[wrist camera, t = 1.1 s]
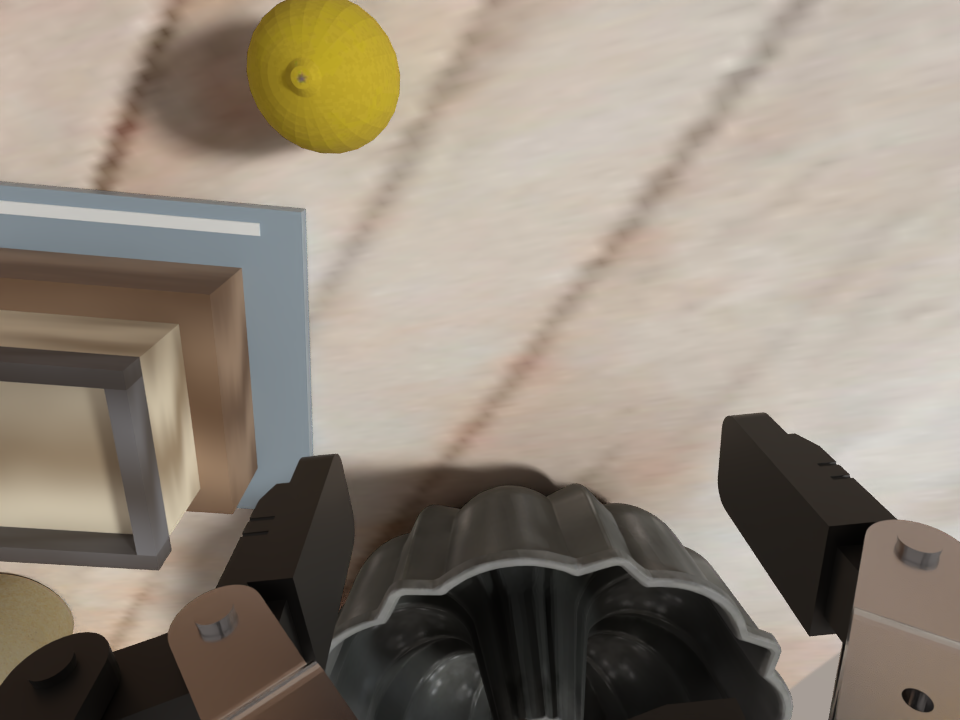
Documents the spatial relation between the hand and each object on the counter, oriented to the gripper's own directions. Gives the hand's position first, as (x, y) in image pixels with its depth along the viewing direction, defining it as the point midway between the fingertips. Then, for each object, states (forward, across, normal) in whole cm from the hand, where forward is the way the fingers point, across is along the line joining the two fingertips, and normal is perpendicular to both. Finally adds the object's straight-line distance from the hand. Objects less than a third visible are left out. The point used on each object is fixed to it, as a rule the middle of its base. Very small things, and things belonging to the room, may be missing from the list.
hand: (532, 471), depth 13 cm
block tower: (+20, +19, +4) cm, 28 cm away
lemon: (+19, +6, -9) cm, 22 cm away
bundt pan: (+20, -1, +24) cm, 31 cm away
